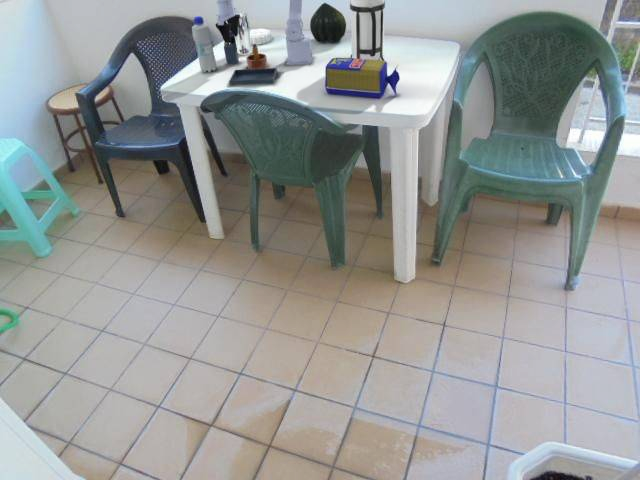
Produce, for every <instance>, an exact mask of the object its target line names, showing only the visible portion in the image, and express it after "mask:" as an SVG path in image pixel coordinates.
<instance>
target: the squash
mask: <svg viewBox="0 0 640 480" xmlns="http://www.w3.org/2000/svg"><path fill="white" fill-rule="evenodd" d="M309 28H310V29H309V30H310V33H311V35H312V36H313V38H314V40H315V41H316V42H318V43H326V42H328V41H330V42H333V43H338V42H339V41H340V40H341V39H342V38H343V37H344V36H345V34H346V31H347V21H346V18H345V16H344V15H343V13H342V12H341V11H340V10H338V9H336V8H335V7H333V6H332V5H330V4H328V3H326V2H323V3H322V4H320V6H319V7H318V8H317V9H316V10H315V12H314V13H313V15H312V16H311V18H310V23H309Z"/></svg>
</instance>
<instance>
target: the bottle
mask: <svg viewBox="0 0 640 480" xmlns="http://www.w3.org/2000/svg"><path fill="white" fill-rule="evenodd" d="M193 23H194V25H192V26H191V33H192V38H193V41H194V42H195V47H196V51H197V56H198V63H199V66H200V70H201V71H202V72H203V73H207V72H208V73H211V72H215V71H216V70H217V68H218V64H217V60H216V56H215V53H214V48H213V47H214V46H213V43H212V33H211V30H210V27H209V24H207V23H205V22H204V18H203V17H202V16H200V15H198V16H195V17H193Z"/></svg>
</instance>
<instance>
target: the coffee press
mask: <svg viewBox="0 0 640 480" xmlns="http://www.w3.org/2000/svg"><path fill="white" fill-rule="evenodd" d="M385 8H386V0H350V1H349V9H350V29H351V30H350V36H351V37H350V38H351V41H350V42H351V54H350V58H354V59H369V60H382V61H386V60H385V59H384V49H385V48H384V46H385V45H384V43H385Z"/></svg>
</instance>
